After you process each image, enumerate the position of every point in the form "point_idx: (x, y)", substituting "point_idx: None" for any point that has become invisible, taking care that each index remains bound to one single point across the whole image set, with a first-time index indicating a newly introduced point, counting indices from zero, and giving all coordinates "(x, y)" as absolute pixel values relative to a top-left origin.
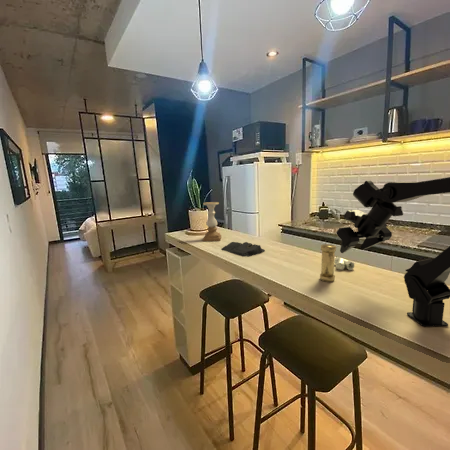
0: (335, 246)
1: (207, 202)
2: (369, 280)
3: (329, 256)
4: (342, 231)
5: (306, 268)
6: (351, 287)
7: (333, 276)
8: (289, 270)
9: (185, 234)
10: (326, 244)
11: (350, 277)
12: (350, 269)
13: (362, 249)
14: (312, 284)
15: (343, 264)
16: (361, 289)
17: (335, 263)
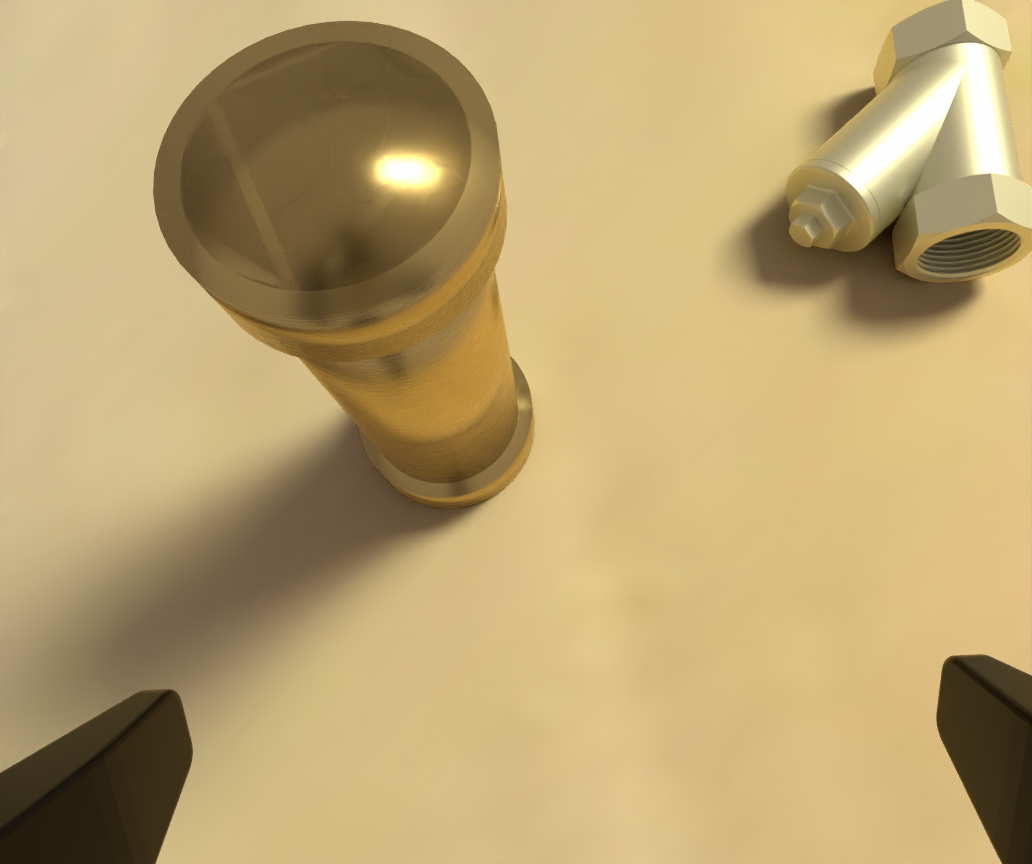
0: (437, 251)
1: None
2: (922, 651)
3: (316, 368)
4: None
5: None
6: (537, 741)
7: (487, 468)
8: None
9: None
10: (388, 43)
11: (758, 478)
12: (937, 279)
13: (948, 752)
14: (200, 486)
15: (869, 215)
16: (605, 847)
17: (876, 80)
